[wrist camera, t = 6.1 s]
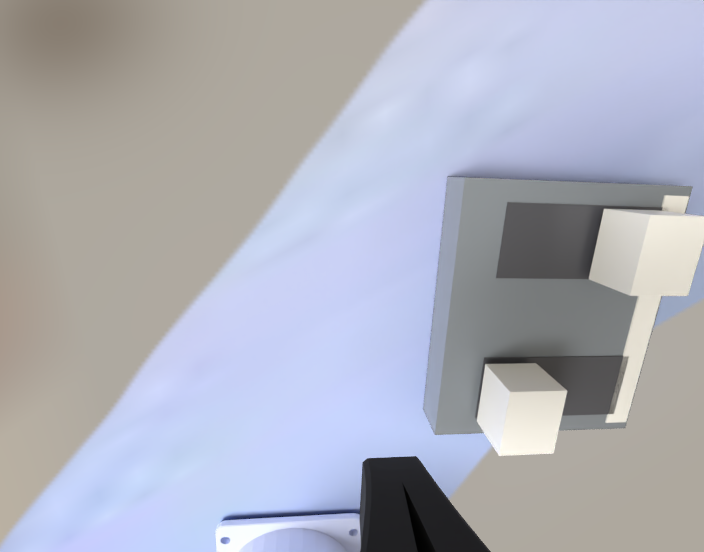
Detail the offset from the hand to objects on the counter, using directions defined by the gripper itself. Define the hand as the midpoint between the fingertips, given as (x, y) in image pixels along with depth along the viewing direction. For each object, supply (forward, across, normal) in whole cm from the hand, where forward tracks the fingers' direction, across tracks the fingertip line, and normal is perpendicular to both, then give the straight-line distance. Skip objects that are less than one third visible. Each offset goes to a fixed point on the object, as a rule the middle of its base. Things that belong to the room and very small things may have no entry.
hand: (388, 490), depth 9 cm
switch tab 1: (+7, -7, +2) cm, 10 cm away
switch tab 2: (+7, -11, -5) cm, 14 cm away
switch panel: (+9, -9, -2) cm, 13 cm away
